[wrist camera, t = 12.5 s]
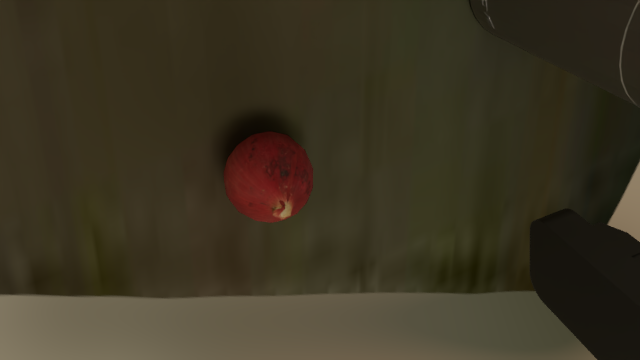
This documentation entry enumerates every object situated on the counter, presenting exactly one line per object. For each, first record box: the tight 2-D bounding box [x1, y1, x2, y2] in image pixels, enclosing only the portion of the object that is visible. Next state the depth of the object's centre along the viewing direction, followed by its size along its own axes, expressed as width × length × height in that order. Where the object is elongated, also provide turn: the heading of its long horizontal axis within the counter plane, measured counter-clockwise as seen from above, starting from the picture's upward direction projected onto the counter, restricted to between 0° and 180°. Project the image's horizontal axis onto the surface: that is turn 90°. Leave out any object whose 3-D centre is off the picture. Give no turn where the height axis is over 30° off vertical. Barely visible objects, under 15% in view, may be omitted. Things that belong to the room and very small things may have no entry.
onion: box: [224, 131, 313, 223], centre depth 37 cm, size 6×6×8 cm
